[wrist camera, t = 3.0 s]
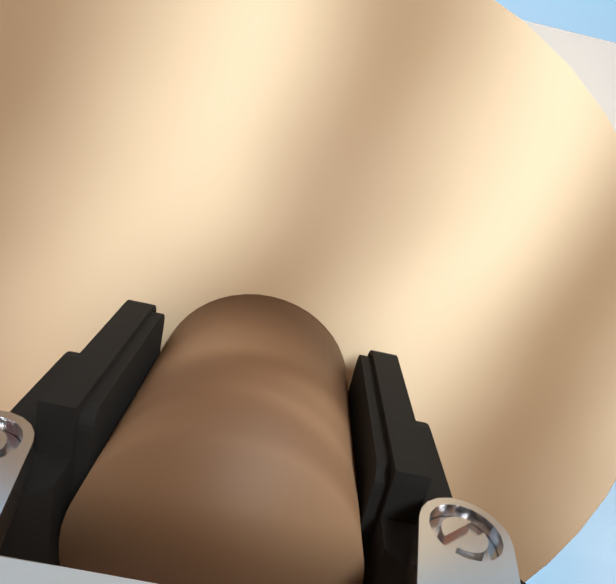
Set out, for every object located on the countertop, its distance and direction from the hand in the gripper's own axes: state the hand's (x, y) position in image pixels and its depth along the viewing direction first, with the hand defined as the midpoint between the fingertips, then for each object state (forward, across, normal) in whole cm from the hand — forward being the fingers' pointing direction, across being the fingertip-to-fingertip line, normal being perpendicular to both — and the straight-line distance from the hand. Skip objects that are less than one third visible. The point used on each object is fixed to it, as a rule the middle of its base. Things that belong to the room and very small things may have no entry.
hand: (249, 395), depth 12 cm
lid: (+1, 0, 0) cm, 1 cm away
